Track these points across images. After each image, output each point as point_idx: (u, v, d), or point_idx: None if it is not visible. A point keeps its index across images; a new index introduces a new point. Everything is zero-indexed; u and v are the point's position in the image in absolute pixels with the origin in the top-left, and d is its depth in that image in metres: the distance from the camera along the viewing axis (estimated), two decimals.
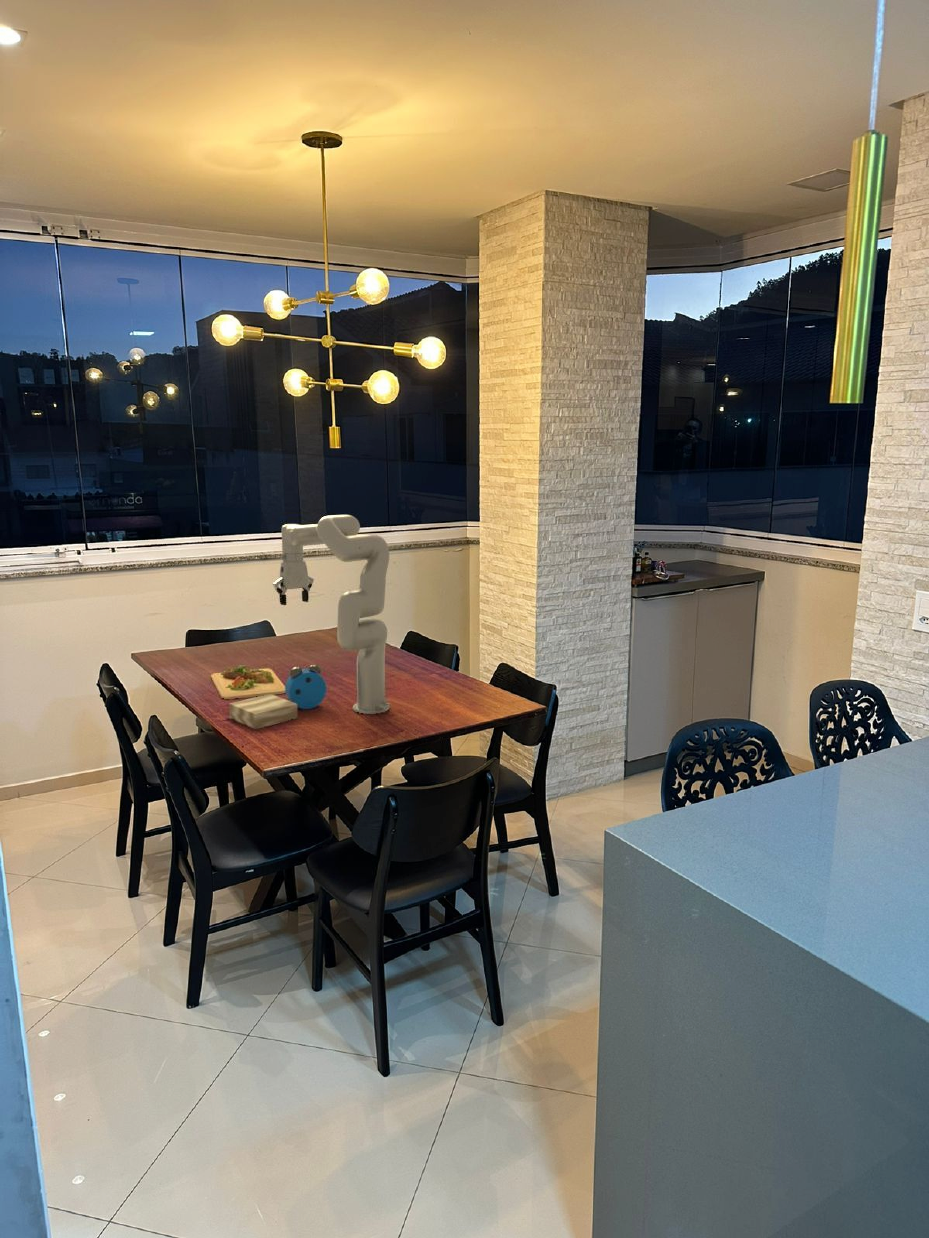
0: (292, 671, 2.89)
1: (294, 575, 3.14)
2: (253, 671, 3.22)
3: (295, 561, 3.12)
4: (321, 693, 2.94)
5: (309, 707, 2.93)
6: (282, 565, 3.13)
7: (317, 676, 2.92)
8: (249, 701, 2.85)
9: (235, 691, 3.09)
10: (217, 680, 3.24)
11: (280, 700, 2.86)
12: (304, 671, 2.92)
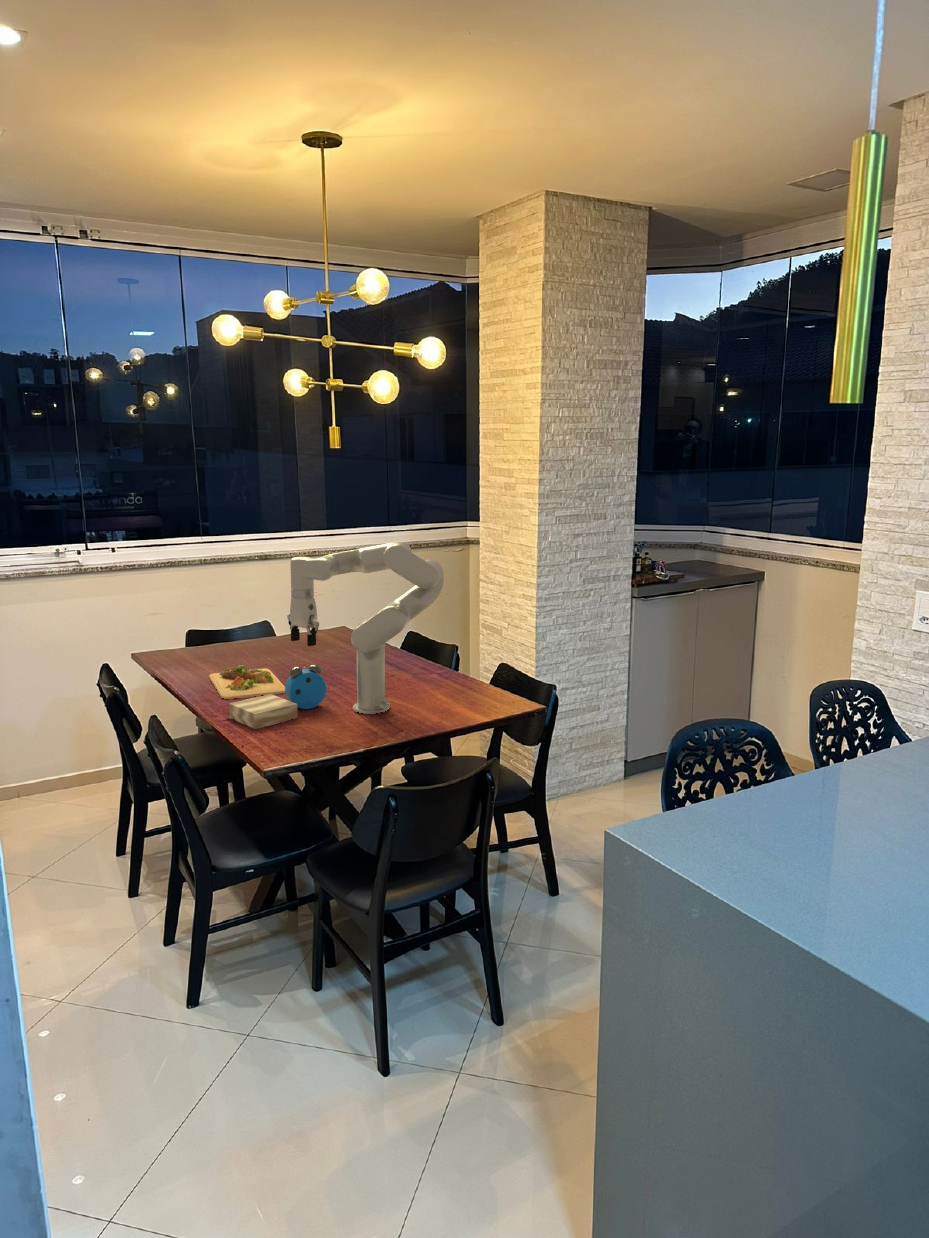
0: (292, 671, 2.89)
1: None
2: (252, 671, 3.22)
3: None
4: (321, 693, 2.94)
5: (309, 707, 2.93)
6: (310, 602, 2.85)
7: (317, 676, 2.92)
8: (249, 701, 2.85)
9: (235, 691, 3.09)
10: (216, 680, 3.23)
11: (280, 700, 2.86)
12: (304, 671, 2.92)
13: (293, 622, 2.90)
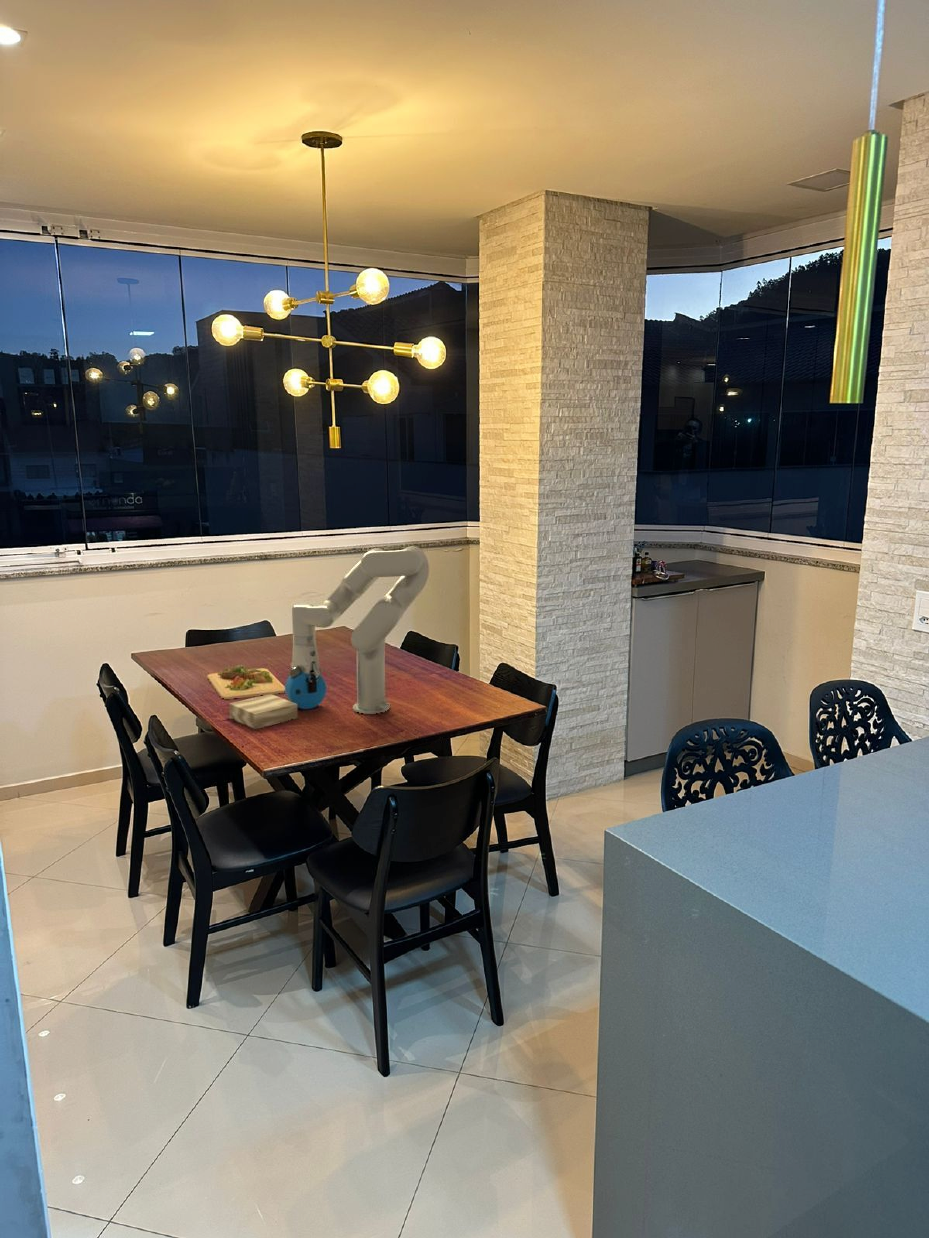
0: (292, 671, 2.89)
1: None
2: (251, 671, 3.22)
3: None
4: (321, 693, 2.94)
5: (309, 707, 2.93)
6: (312, 649, 2.88)
7: None
8: (249, 701, 2.85)
9: (235, 691, 3.09)
10: (215, 680, 3.23)
11: (280, 700, 2.86)
12: None
13: None
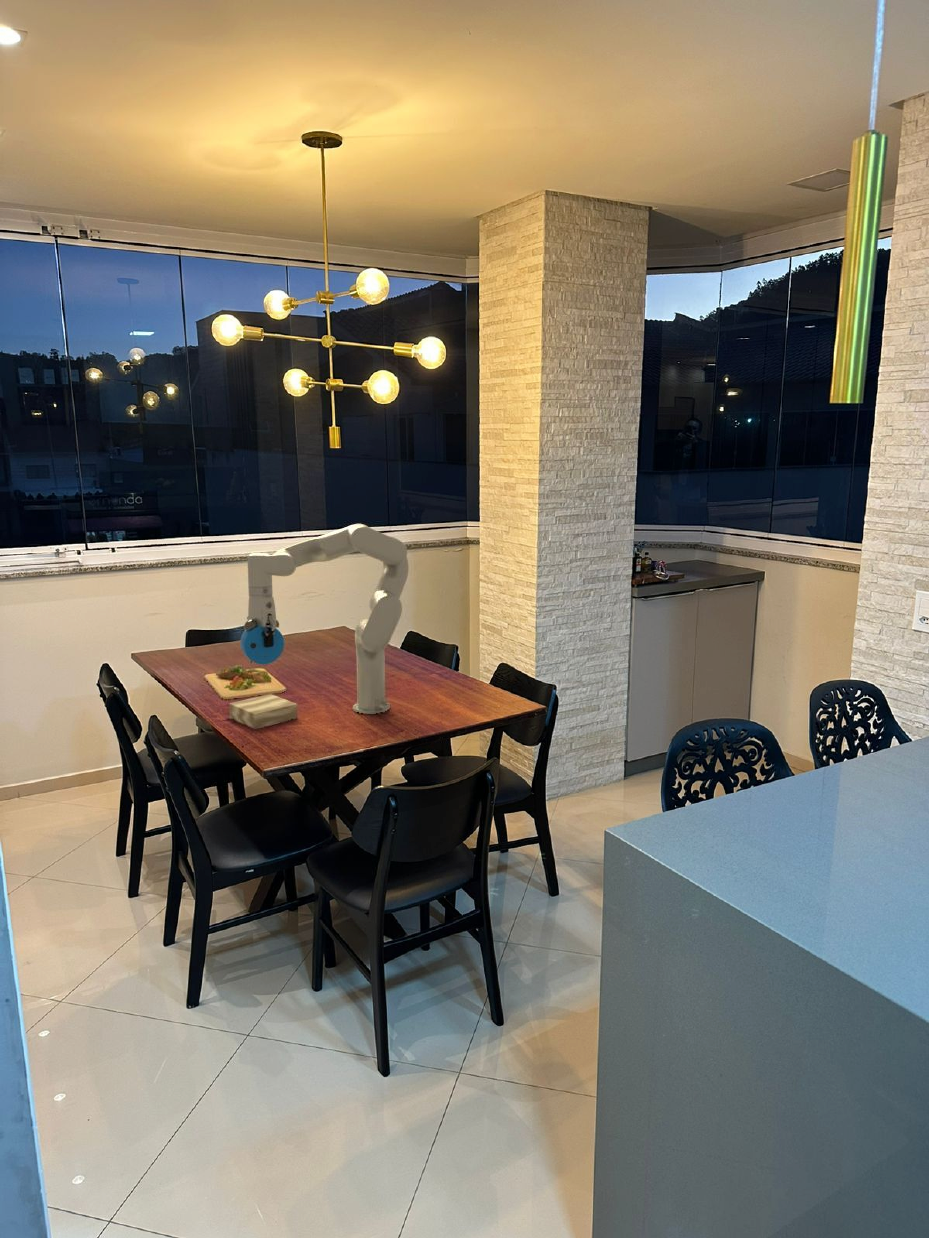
0: (247, 623, 2.74)
1: None
2: (250, 671, 3.22)
3: None
4: (278, 648, 2.79)
5: (265, 662, 2.78)
6: (268, 600, 2.73)
7: None
8: (249, 701, 2.85)
9: (234, 691, 3.09)
10: (213, 680, 3.23)
11: (280, 700, 2.86)
12: None
13: None
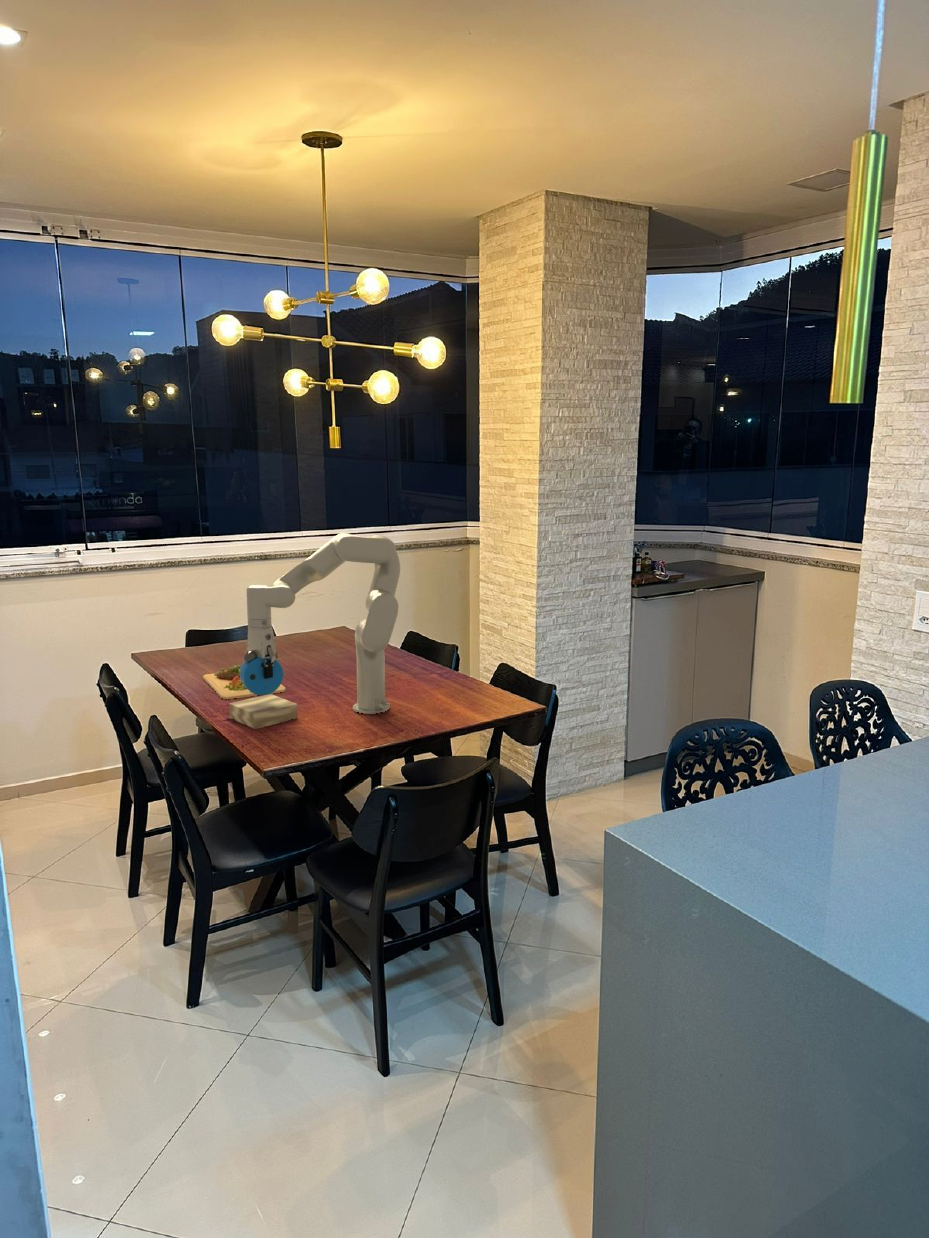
0: (246, 655, 2.76)
1: None
2: None
3: None
4: (277, 679, 2.80)
5: (265, 693, 2.79)
6: (267, 632, 2.74)
7: None
8: (249, 701, 2.85)
9: (234, 691, 3.09)
10: (212, 680, 3.23)
11: (280, 700, 2.86)
12: None
13: None
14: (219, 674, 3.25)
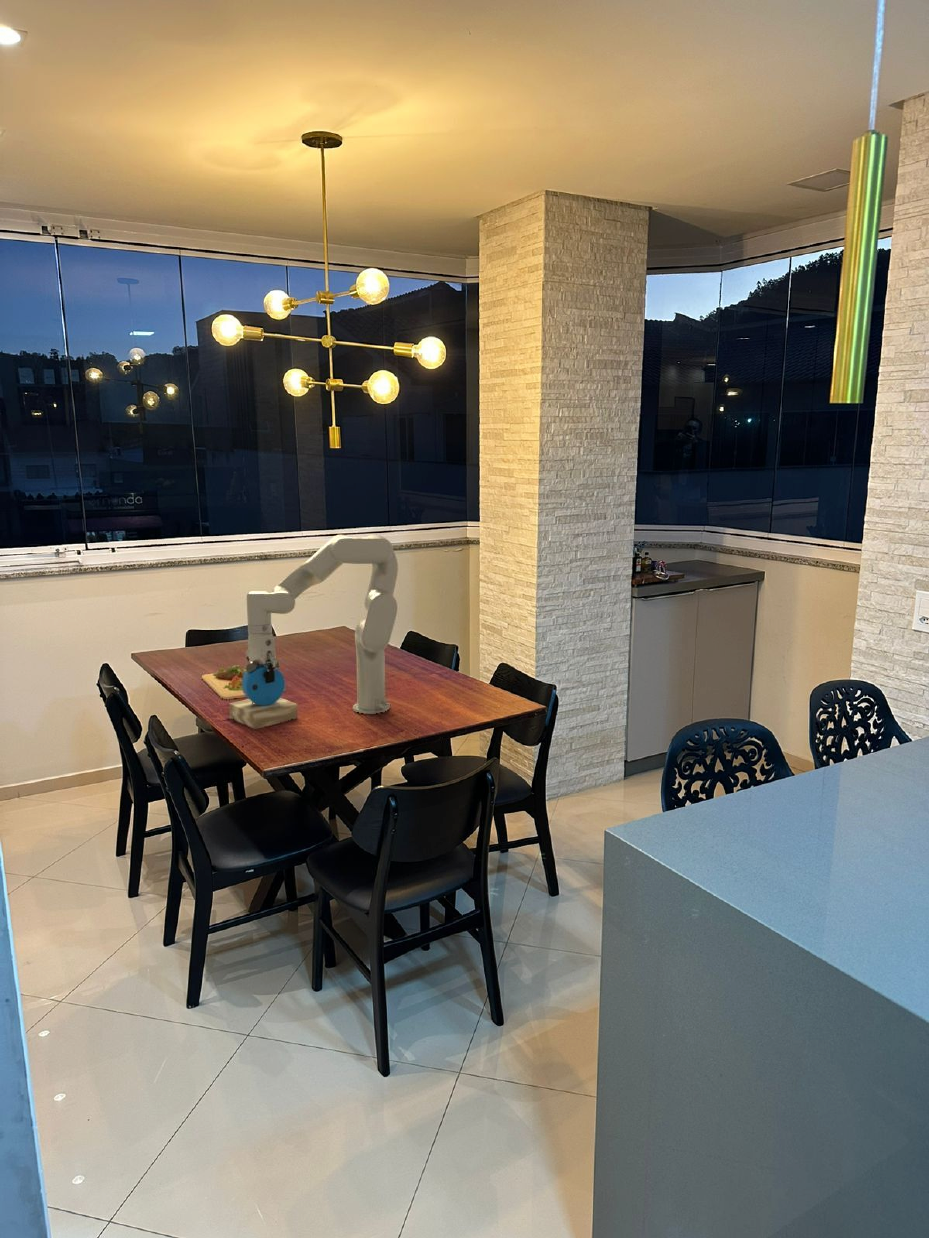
0: (248, 665, 2.76)
1: None
2: None
3: None
4: (279, 688, 2.81)
5: (267, 703, 2.80)
6: (267, 638, 2.75)
7: (275, 671, 2.79)
8: (249, 701, 2.85)
9: (234, 691, 3.09)
10: (211, 681, 3.22)
11: (280, 700, 2.86)
12: (261, 666, 2.79)
13: (251, 658, 2.80)
14: (218, 674, 3.25)
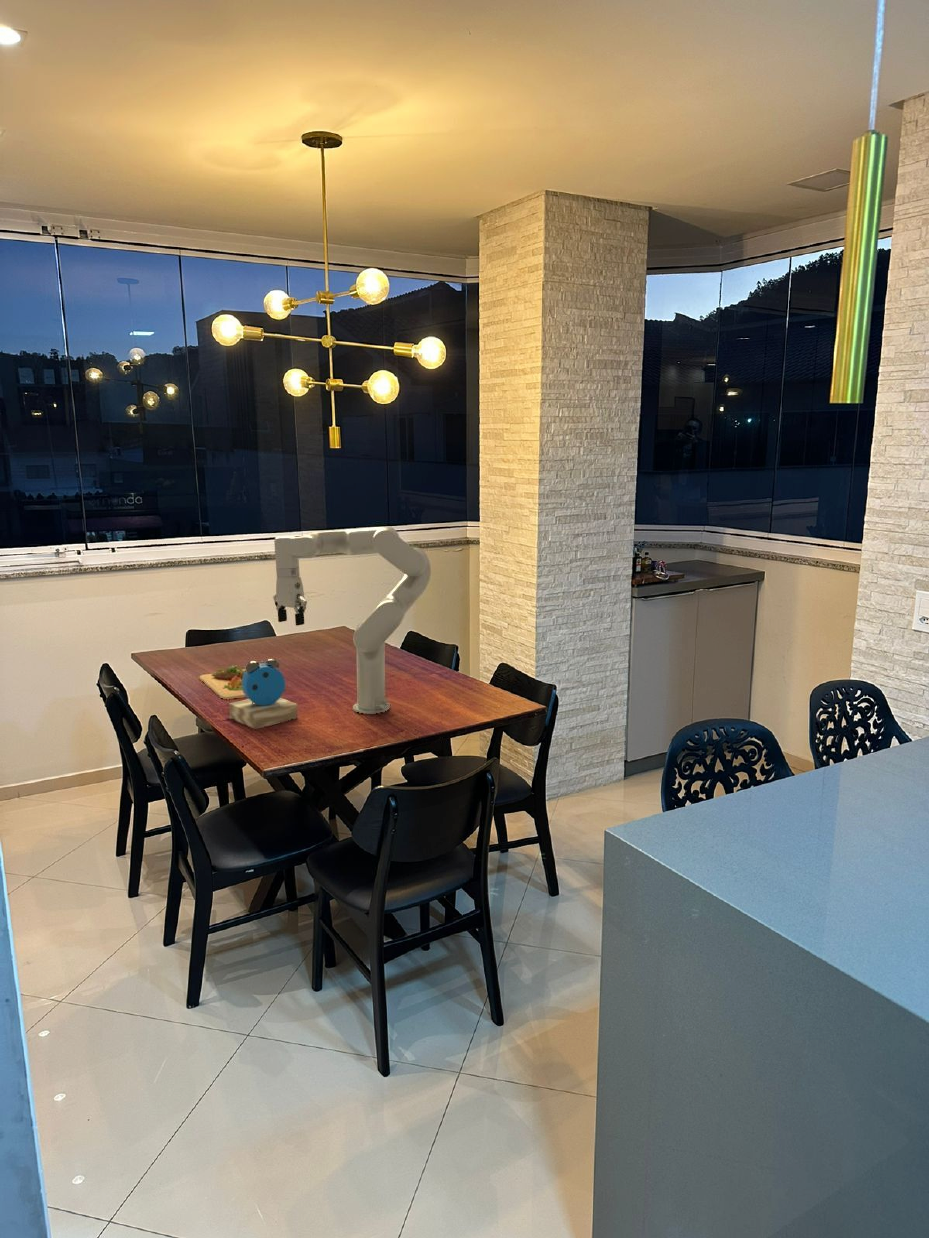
0: (248, 665, 2.76)
1: None
2: None
3: None
4: (279, 688, 2.81)
5: (267, 703, 2.80)
6: (296, 581, 2.82)
7: (275, 671, 2.79)
8: (249, 701, 2.85)
9: (234, 691, 3.09)
10: (209, 681, 3.22)
11: (280, 700, 2.86)
12: (261, 666, 2.79)
13: (280, 602, 2.86)
14: (216, 674, 3.25)
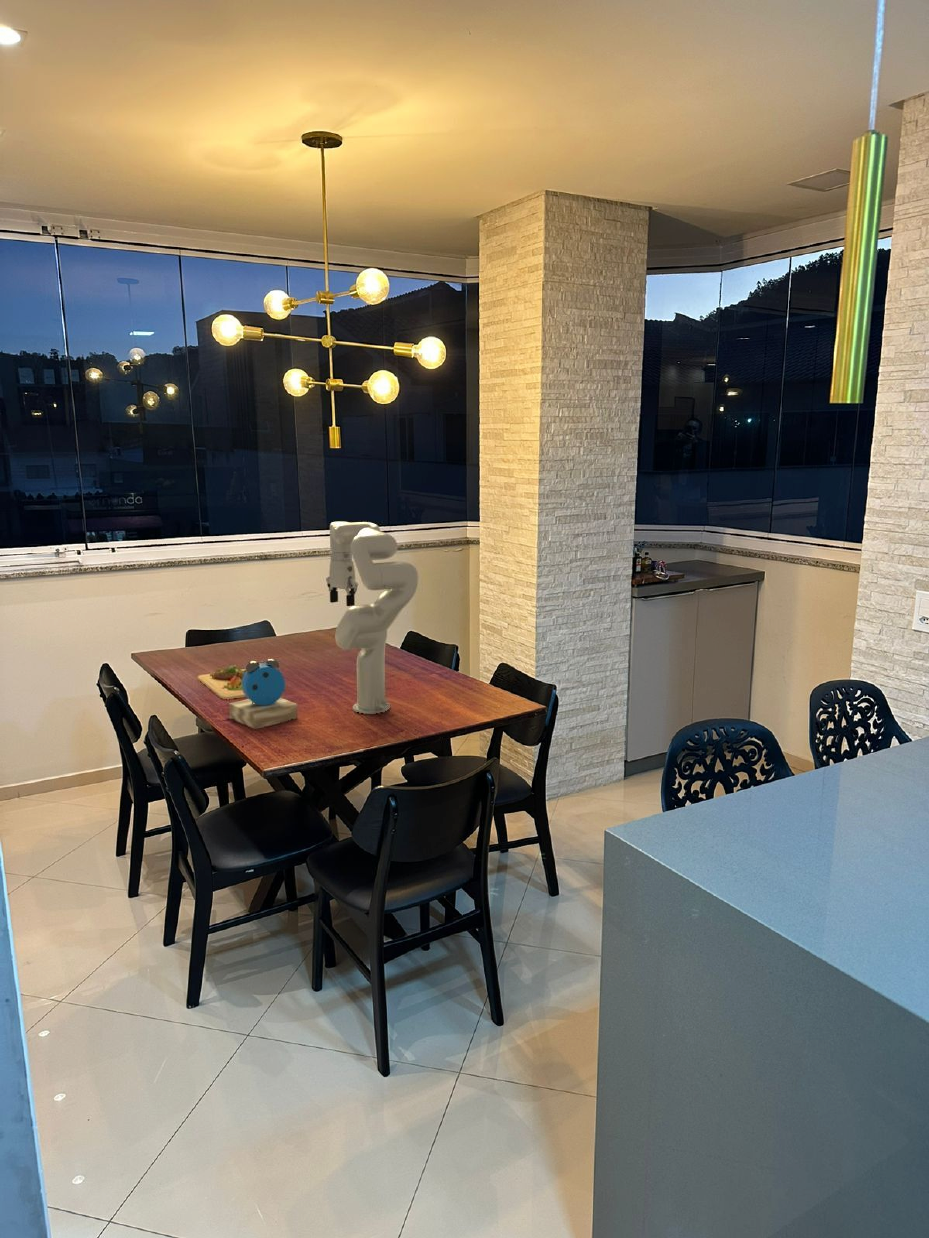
0: (248, 665, 2.76)
1: None
2: None
3: None
4: (279, 688, 2.81)
5: (267, 703, 2.80)
6: (349, 564, 3.00)
7: (275, 671, 2.79)
8: (249, 701, 2.85)
9: (234, 691, 3.09)
10: (208, 681, 3.22)
11: (280, 700, 2.86)
12: (261, 666, 2.79)
13: (332, 584, 3.05)
14: (215, 674, 3.24)
